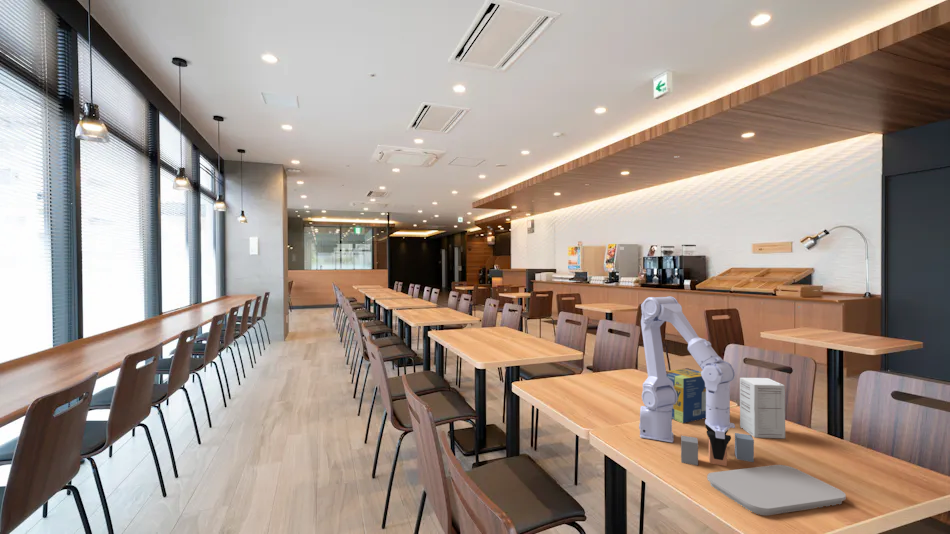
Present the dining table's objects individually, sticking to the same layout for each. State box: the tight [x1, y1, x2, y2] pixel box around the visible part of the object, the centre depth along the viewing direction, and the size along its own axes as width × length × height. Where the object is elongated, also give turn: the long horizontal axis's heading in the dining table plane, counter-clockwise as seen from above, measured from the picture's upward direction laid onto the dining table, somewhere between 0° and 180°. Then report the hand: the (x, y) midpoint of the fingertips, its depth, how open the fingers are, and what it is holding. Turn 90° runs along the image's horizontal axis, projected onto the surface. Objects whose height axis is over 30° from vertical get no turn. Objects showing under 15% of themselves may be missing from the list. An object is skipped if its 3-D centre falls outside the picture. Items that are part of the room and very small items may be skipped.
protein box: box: [666, 367, 706, 424], centre depth 153 cm, size 10×15×16 cm
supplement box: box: [739, 377, 786, 439], centre depth 137 cm, size 10×9×17 cm
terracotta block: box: [708, 438, 728, 467], centre depth 116 cm, size 4×4×6 cm
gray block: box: [680, 435, 699, 466], centre depth 116 cm, size 4×4×6 cm
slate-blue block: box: [734, 432, 755, 463], centre depth 119 cm, size 4×4×6 cm
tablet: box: [706, 464, 847, 516], centre depth 100 cm, size 16×26×2 cm, turn 103°
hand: (717, 455), depth 116 cm, fingers closed on terracotta block, 4 cm apart
